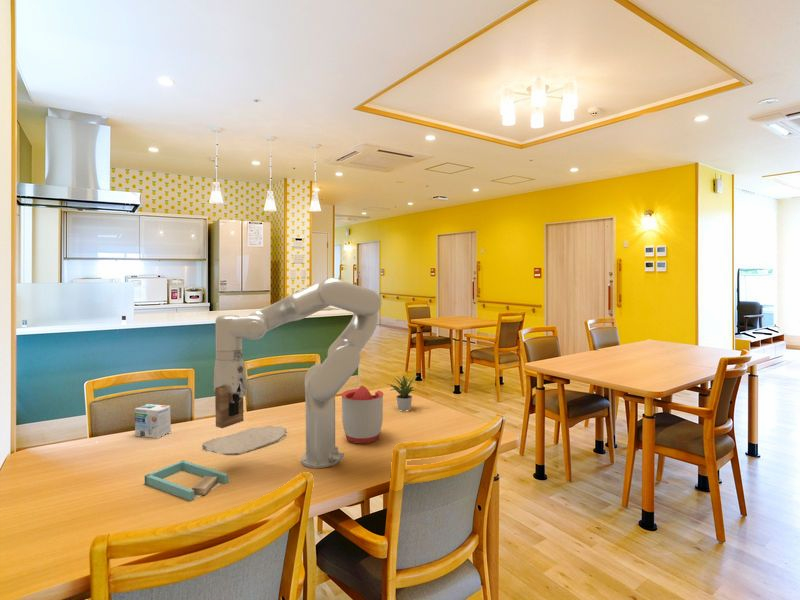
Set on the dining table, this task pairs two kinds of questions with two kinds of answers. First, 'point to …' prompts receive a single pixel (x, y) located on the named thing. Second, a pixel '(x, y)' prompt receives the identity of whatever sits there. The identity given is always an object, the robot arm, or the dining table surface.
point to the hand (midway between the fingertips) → (229, 413)
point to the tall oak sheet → (226, 409)
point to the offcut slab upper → (204, 485)
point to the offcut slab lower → (210, 490)
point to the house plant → (403, 393)
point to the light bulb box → (152, 420)
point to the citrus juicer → (362, 415)
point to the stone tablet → (245, 440)
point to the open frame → (178, 490)
